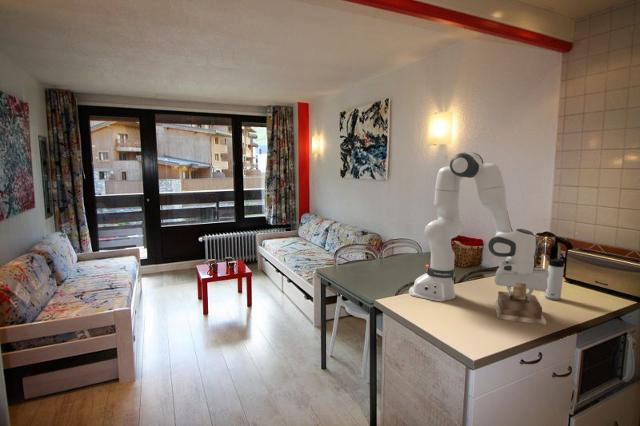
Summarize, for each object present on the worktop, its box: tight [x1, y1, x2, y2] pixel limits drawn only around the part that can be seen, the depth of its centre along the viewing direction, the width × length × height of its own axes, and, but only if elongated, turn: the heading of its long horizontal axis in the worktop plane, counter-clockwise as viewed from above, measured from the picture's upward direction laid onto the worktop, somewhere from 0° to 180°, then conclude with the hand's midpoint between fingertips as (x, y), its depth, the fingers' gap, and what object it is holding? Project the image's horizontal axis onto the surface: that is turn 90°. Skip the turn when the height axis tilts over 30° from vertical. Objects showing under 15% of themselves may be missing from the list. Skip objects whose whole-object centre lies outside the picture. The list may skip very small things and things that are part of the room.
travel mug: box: [545, 258, 565, 302], centre depth 178 cm, size 6×7×20 cm
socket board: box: [493, 290, 547, 326], centre depth 162 cm, size 18×18×6 cm
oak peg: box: [512, 283, 527, 303], centre depth 161 cm, size 5×5×12 cm
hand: (519, 296), depth 162 cm, fingers open, 5 cm apart
